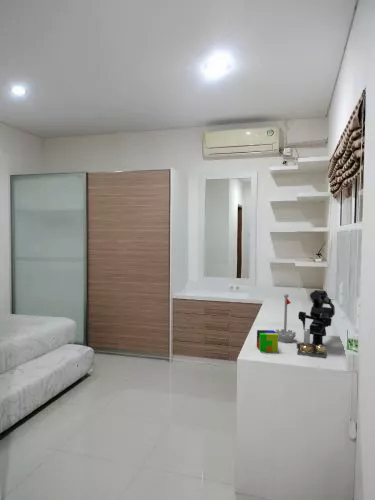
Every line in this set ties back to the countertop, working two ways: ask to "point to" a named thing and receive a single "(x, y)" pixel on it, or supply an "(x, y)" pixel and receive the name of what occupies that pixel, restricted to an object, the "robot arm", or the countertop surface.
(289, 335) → the flag stand
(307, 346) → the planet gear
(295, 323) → the countertop surface
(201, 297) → the countertop surface
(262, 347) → the puzzle toy
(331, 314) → the robot arm
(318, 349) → the carrier plate
